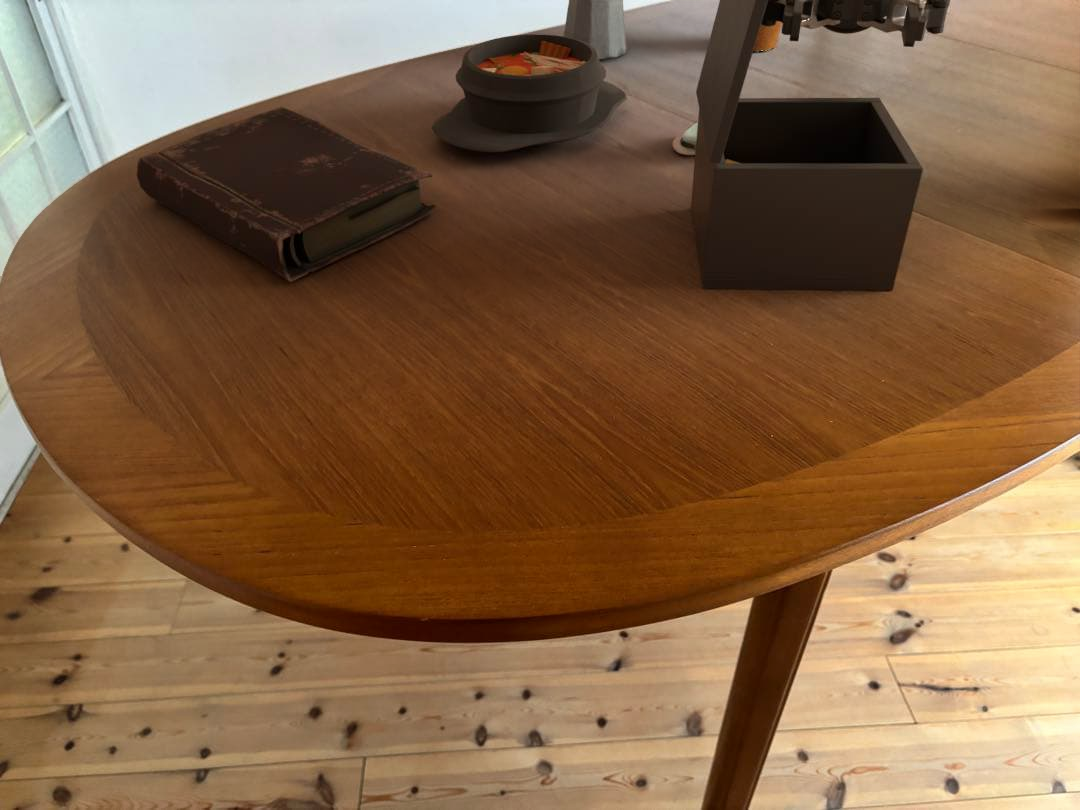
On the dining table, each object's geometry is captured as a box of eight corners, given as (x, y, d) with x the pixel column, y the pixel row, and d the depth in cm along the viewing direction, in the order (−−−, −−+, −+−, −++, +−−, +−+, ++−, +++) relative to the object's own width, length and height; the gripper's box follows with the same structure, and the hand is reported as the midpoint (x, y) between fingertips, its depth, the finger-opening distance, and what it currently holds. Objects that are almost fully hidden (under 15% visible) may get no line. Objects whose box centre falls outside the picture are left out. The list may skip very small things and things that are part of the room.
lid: (760, -116, 72) (750, -118, 72) (789, -73, 61) (777, -76, 61) (705, 93, 83) (695, 92, 83) (720, 163, 71) (709, 161, 71)
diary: (283, 288, 80) (271, 237, 77) (145, 204, 94) (130, 157, 91) (442, 213, 91) (437, 165, 87) (296, 147, 104) (287, 103, 101)
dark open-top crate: (856, 209, 89) (879, 97, 82) (892, 290, 78) (923, 168, 71) (690, 208, 90) (699, 98, 83) (702, 288, 79) (714, 168, 72)
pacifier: (664, 158, 100) (718, 164, 98) (666, 101, 96) (722, 106, 94) (682, 133, 105) (734, 138, 103) (685, 78, 101) (739, 82, 99)
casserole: (550, 80, 119) (549, 12, 114) (662, 116, 109) (666, 43, 103) (398, 137, 106) (389, 64, 100) (510, 185, 95) (506, 106, 90)
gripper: (776, -72, 81) (764, -25, 69) (946, -69, 78) (965, -19, 66) (765, 16, 86) (752, 75, 74) (925, 23, 83) (940, 85, 71)
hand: (853, 30), depth 70 cm, fingers open, 8 cm apart
